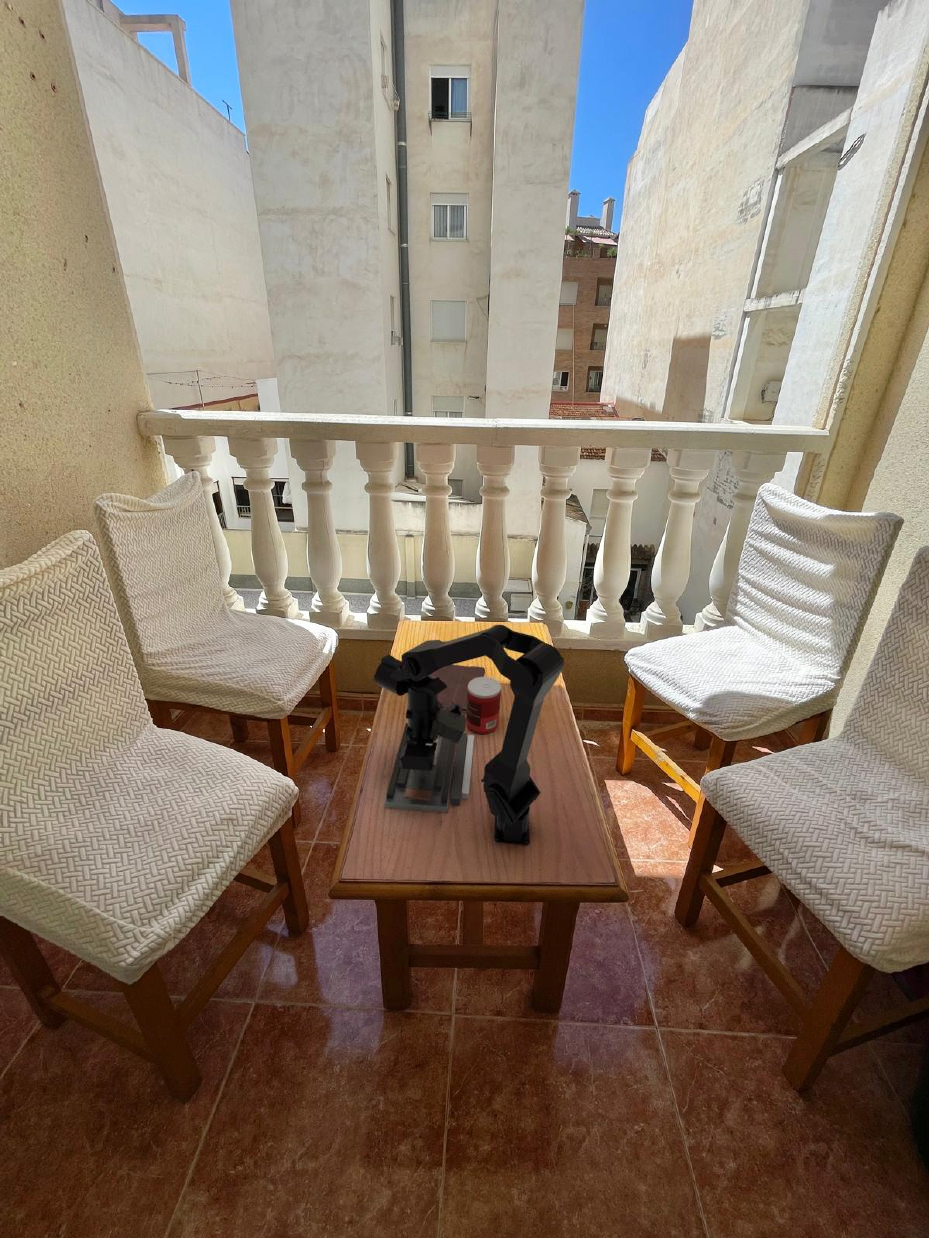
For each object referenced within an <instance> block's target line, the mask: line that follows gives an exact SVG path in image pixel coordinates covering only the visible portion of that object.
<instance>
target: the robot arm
mask: <svg viewBox="0 0 929 1238" xmlns="http://www.w3.org/2000/svg"><path fill="white" fill-rule="evenodd" d="M506 650H508V651H512V652H517V653H520V654H522V655H520V657H517V659H515V658H513V657H512V656H510V655H508V653H507V651H506ZM482 657H486V658H488V659H490V660H491V661H492V663H493V665H494V666H495V667H496V669H497V671H498V672H499V674H501V675H502V676H503V677H504V678H506V679H507V680H509V687H510V689H511V691H512V694H513V696H514V697H513V703H512V707H511V711H510V714H509V718H508V723H507V726H506V731H505V735H504V739H503V742H502V747H501V750H500V751H499V752H498V753H497V754H496V755H495V756H494V757H493V758H491V759H490V761H488V762H487V763H486V764H485V767H484V771H483V772H484V773H483V777H482V779H480V781H481V783H483V787H482V789H483V792H484V793H485V796H486V801H487V805H488V808H489V811H490V814H491V815H492V816H494V827H493V828H494V833H493V842H494V843H496V844H507V845H508V844H509V845H519V846H521V845H522V846H529V845H530V842H531V839H530V838H531V837H530V817H529V816H530V811H531V805H532V804H533V803H534V802H535V801H536V800H537V799H538V798H539V796H540V795H541V791H540V790H539V787H538V786H537V784H536V783H535V782H534V780H533V778H532V777H531V765H530V764H529V762H528V756H529V753H530V748H531V746H532V742H533V738H534V735H535V731H536V728H537V724H538V721H539V717H540V714H541V710H542V707H543V704H544V699H545V697H546V696H547V695H548V694H549V692H550V691H551V689H552V688H553V686H554V685H555V684H556V682H557V680H558V678H559V677H560V675H561V672H562V671H563V669H564V666H565V665H564V664H565V660H564V657H563V656H562V655H561V653H560V651H559V650H558V649H557V648H556V647H555V646H553V645H552V644H550V643H547V642H544V641H543V640H541V639H540V638H537V637H536V636H534V635H531V634H527V633H523V632H519V631H514V630H513V629H511V628H509V627H508V626H506V625H503V624H494V625H492V626H491V627H489V628H486V629H482V630H480V631H476V632H473V633H471V634H467V635H463V636H460V637H457V638H454V639H451V640H446V641H442V640H440V639H431V640H425V641H424V642H421V643H420V644H418V645H416V646H415V647H412V648H411V649H409V650H407V651H406V652H404V653H402V655H401V660H400V659H398V658H396V657H394V656H393V655H391V654H387V655H385V656H382V657H381V660H380V661H381V662H380V664H379V665H378V667H377V668H376V671H375V673H374V675H373V678H374V679H373V680H374V683H375V684H376V685H377V686H378V687H381V688H383V689H385V690H386V691H389V692H391V693H392V694H394V695H396V696H399V697H401V696H404V695H406V694H407V709H406V713H405V719H407V723H408V726H407V730H406V735H407V736H409V739H410V740H407V743H406V745H405V746H403V747H402V751H401V755H400V767H401V768H402V769H412V770H425V771H430V770H432V769H433V764H434V757H435V751H436V746H437V742H434V741H435V740H436V739H437V738H438V735H439V736H441V737H444V738H446V739H449V740H452V742H455V743H456V744H458V742H459V741H460V739H461V737H462V735H463V733H465V731H466V727H467V723H466V714H465V713H462V709H461V705H459V704H456V703H455V704H453V705H452V706H450V707H449V708H446V710H443V705H442V704H441V703H440V702H439V701H437V694H439V693H440V692H442V691H443V690H445V689H446V688H447V685H446V684H445V683H444V682H443V681H441V680H440V678H439V677H436V678H435V677H433V676H431V675H430V674H432V673H434V672H435V671H437V670H439V669H440V668H442V667H445V666H448V665H457V664H459V663H464V662H467V661H471V660H474V659H478V658H482Z"/></svg>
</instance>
